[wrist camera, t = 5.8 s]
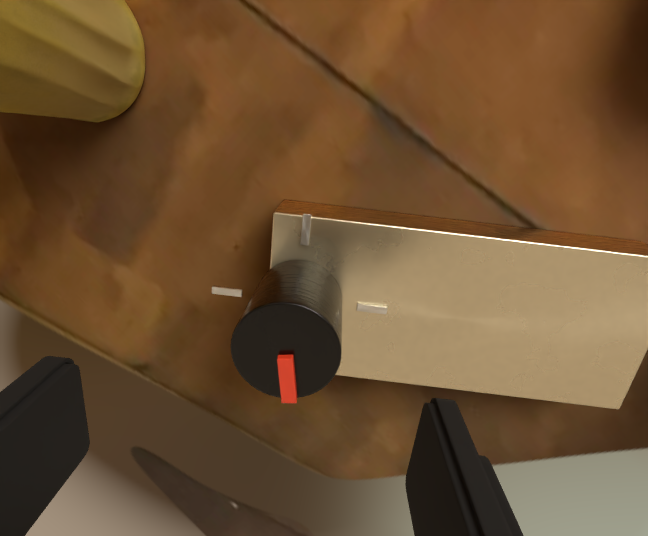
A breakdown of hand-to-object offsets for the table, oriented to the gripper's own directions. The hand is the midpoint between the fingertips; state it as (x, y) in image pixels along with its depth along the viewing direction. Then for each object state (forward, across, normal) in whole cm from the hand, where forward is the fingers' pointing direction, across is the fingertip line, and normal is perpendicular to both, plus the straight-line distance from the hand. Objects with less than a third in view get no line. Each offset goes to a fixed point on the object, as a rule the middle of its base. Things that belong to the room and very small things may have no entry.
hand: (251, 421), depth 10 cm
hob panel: (+11, -7, 0) cm, 13 cm away
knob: (+8, -1, 0) cm, 8 cm away
